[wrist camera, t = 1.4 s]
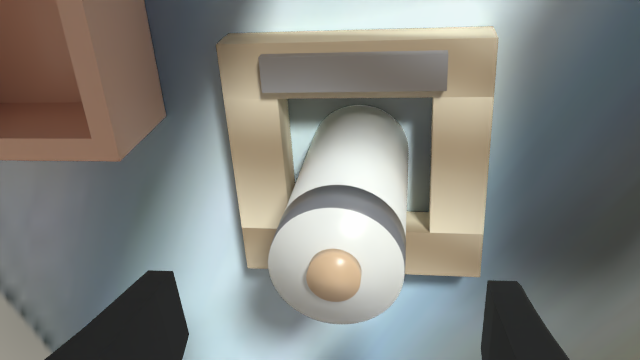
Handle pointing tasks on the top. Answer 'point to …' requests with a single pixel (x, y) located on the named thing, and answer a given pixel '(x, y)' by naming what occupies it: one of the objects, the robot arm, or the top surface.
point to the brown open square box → (76, 79)
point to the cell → (345, 220)
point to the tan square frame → (366, 82)
